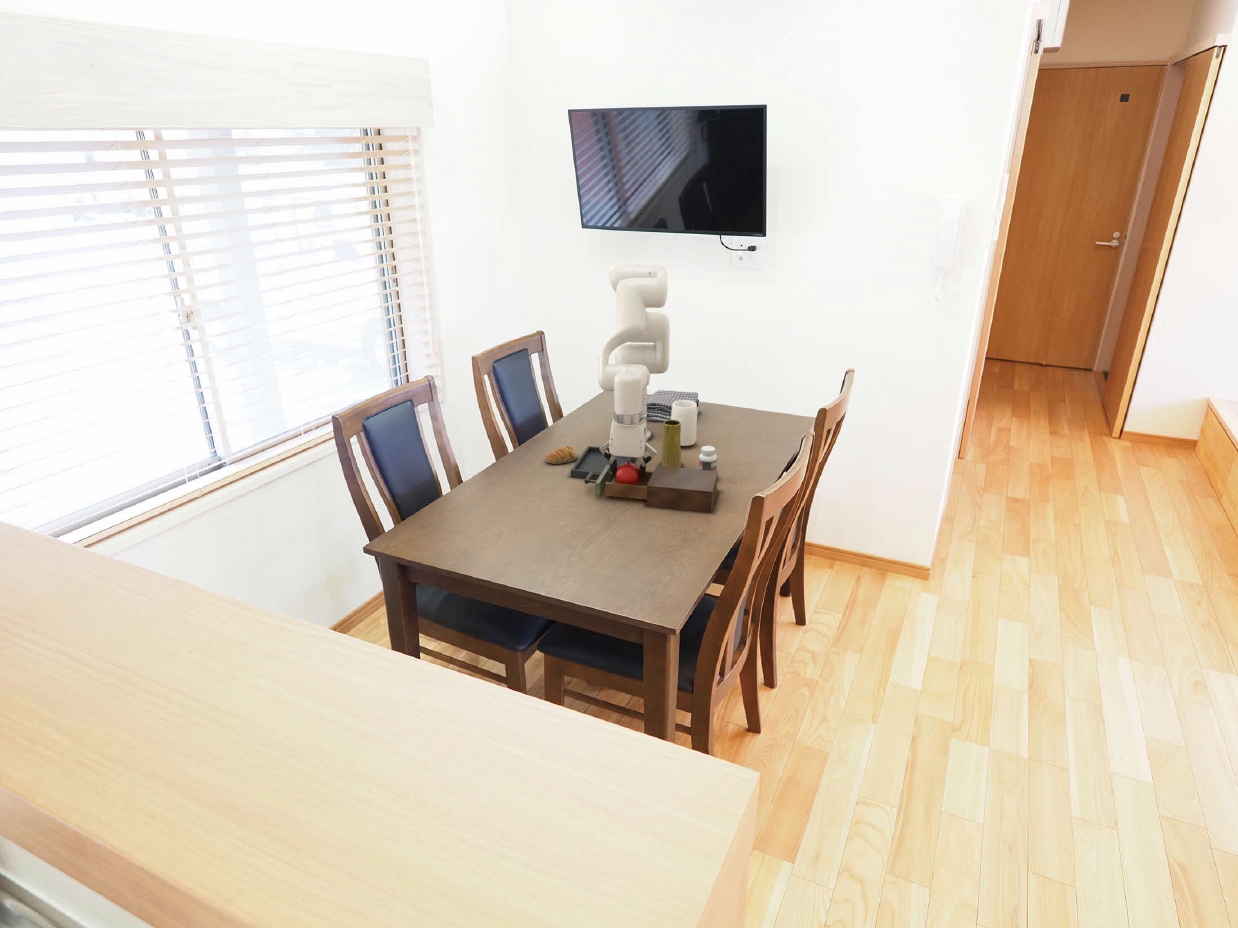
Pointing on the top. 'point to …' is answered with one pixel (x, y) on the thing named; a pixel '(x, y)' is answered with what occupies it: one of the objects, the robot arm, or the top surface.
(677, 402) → the cup
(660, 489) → the cabinet
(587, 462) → the tray
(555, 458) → the pastry
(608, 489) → the drawer
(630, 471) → the apple
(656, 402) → the towel
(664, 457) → the vase
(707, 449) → the pill bottle
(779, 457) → the top surface
